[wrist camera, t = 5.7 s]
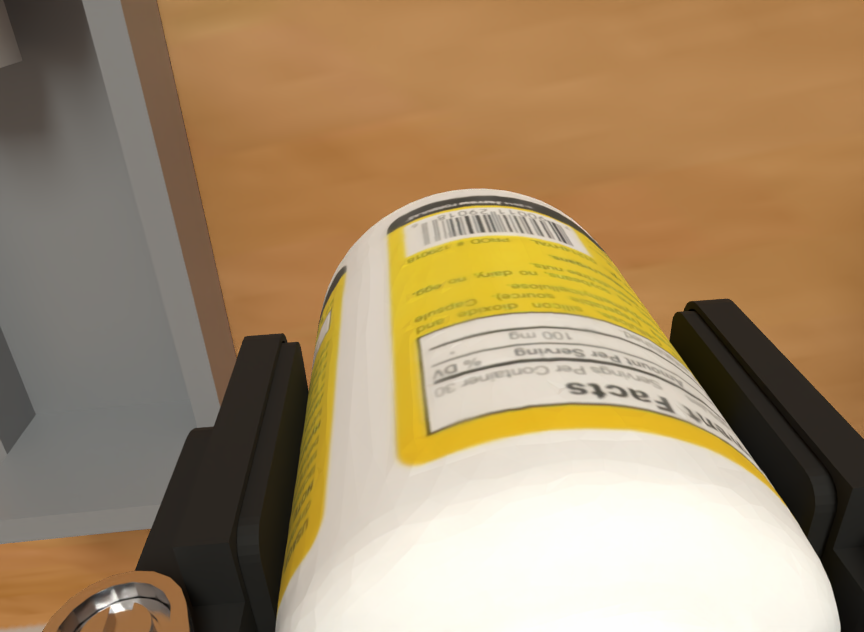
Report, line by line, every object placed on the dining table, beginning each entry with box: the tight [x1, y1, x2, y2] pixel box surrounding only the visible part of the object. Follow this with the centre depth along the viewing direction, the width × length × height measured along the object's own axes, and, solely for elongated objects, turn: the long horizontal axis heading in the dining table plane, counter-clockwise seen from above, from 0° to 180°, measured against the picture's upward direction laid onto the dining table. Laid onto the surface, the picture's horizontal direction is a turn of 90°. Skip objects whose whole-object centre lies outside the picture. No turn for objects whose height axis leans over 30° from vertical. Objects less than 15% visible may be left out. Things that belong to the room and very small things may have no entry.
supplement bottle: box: [275, 189, 841, 632], centre depth 8 cm, size 5×5×10 cm
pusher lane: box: [0, 0, 237, 544], centre depth 21 cm, size 20×9×7 cm, turn 3°
